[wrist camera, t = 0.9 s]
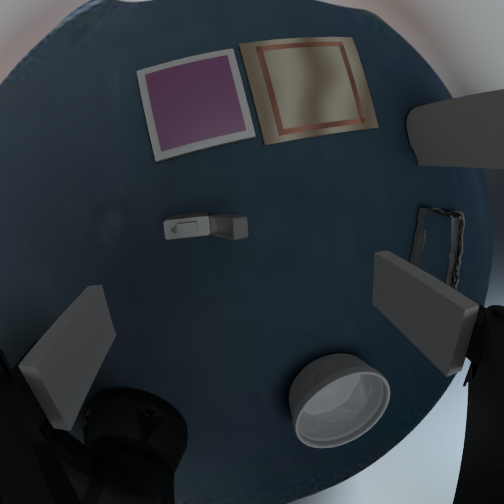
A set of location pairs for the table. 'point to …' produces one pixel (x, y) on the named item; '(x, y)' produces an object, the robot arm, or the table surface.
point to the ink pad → (194, 104)
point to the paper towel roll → (459, 131)
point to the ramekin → (336, 400)
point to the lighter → (205, 226)
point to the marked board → (307, 87)
